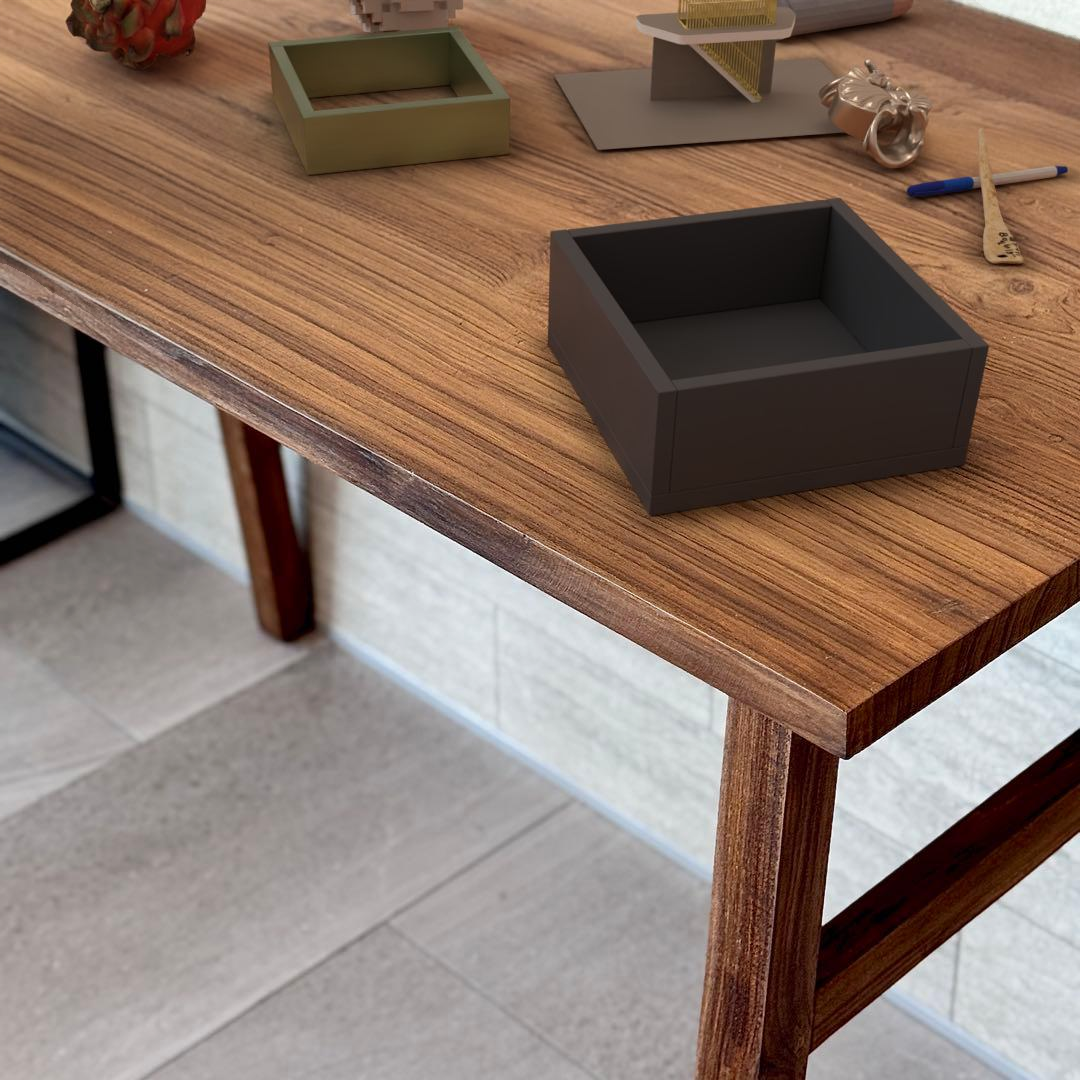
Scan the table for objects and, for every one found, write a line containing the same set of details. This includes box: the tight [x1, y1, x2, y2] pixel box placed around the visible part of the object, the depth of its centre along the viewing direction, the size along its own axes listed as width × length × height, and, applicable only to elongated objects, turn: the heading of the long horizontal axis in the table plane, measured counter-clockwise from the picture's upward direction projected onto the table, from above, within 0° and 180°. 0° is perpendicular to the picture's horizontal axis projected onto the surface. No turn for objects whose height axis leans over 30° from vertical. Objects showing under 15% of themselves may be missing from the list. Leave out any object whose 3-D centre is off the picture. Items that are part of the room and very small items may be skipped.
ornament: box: [819, 57, 933, 169], centre depth 99 cm, size 8×7×4 cm
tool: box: [977, 127, 1025, 265], centre depth 93 cm, size 14×1×2 cm
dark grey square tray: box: [547, 197, 990, 517], centre depth 75 cm, size 15×15×6 cm
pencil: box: [763, 0, 914, 42], centre depth 116 cm, size 11×3×3 cm, turn 118°
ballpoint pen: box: [906, 165, 1069, 197], centre depth 96 cm, size 10×1×1 cm
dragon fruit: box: [64, 0, 207, 71], centre depth 107 cm, size 8×8×12 cm
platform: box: [553, 0, 845, 151], centre depth 103 cm, size 12×18×7 cm, turn 102°
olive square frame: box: [267, 25, 511, 176], centre depth 100 cm, size 12×12×4 cm
